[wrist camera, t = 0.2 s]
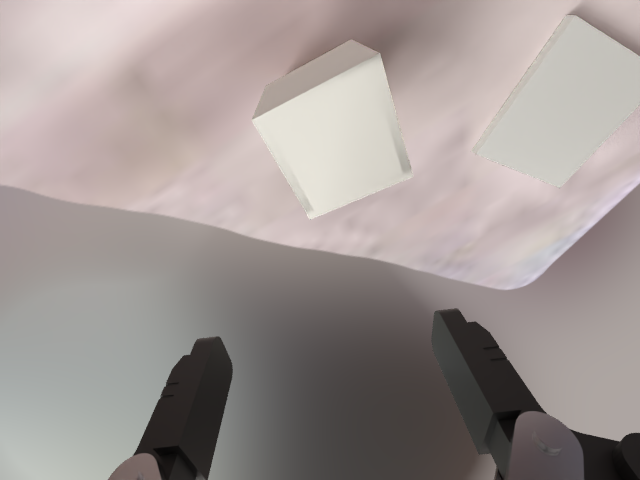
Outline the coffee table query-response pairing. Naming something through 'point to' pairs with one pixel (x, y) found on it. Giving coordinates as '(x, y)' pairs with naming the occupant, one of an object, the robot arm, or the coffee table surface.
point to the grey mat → (564, 104)
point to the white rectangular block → (334, 129)
